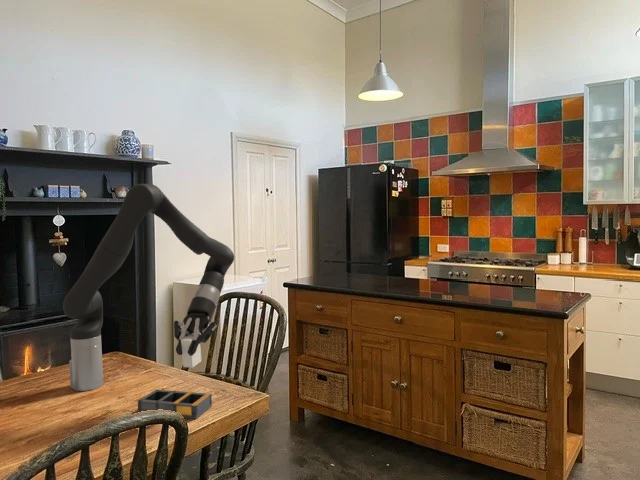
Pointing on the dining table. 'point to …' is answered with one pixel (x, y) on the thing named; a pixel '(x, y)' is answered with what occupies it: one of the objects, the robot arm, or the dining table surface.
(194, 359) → the white rectangular block
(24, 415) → the dining table surface
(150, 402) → the slot rack
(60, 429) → the dining table surface
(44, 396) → the dining table surface
